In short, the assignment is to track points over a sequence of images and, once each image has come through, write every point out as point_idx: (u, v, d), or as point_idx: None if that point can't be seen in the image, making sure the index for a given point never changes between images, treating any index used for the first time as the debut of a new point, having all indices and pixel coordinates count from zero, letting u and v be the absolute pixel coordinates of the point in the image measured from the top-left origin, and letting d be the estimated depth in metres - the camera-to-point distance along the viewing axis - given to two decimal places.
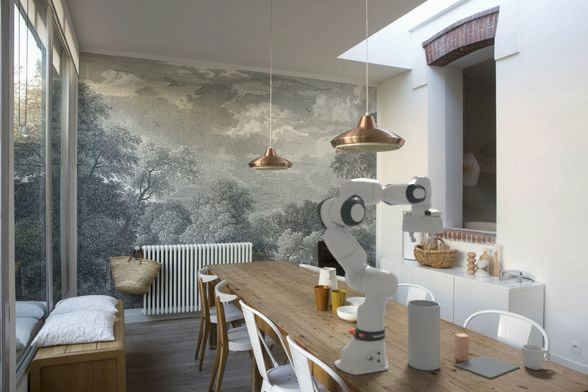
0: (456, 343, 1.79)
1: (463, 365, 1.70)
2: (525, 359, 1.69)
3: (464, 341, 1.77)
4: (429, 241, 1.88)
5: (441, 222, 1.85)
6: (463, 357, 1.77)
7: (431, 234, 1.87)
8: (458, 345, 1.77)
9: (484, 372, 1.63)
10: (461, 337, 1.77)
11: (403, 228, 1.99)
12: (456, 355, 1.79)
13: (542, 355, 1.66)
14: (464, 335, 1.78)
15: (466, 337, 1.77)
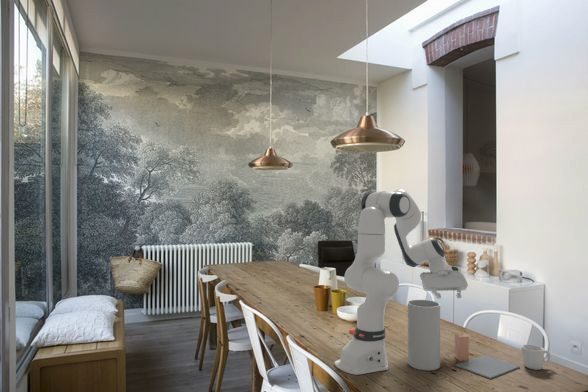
0: (456, 343, 1.79)
1: (463, 365, 1.70)
2: (525, 359, 1.69)
3: (464, 341, 1.77)
4: (459, 294, 1.92)
5: None
6: (463, 357, 1.77)
7: (460, 288, 1.94)
8: (458, 345, 1.77)
9: (484, 372, 1.63)
10: (461, 337, 1.77)
11: (427, 284, 1.94)
12: (456, 355, 1.79)
13: (542, 355, 1.66)
14: (464, 335, 1.78)
15: (466, 337, 1.77)
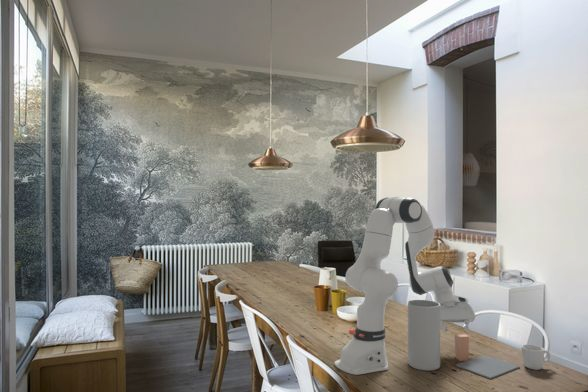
0: (456, 343, 1.79)
1: (463, 365, 1.70)
2: (525, 359, 1.69)
3: (464, 341, 1.77)
4: (467, 327, 1.84)
5: None
6: (463, 357, 1.77)
7: (467, 320, 1.86)
8: (458, 345, 1.77)
9: (484, 372, 1.63)
10: (461, 337, 1.77)
11: None
12: (456, 355, 1.79)
13: (542, 355, 1.66)
14: (464, 335, 1.78)
15: (466, 337, 1.77)
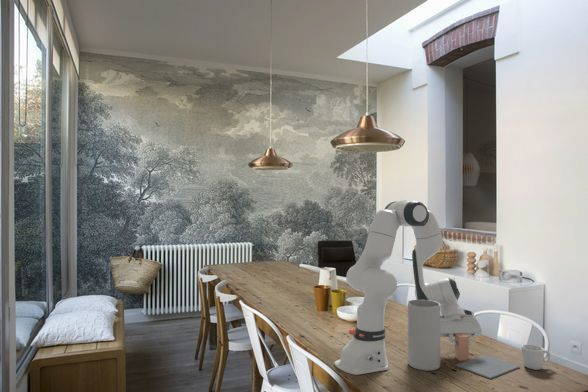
0: None
1: (463, 365, 1.70)
2: (525, 359, 1.69)
3: (464, 341, 1.77)
4: None
5: None
6: (463, 357, 1.77)
7: (469, 335, 1.81)
8: (458, 345, 1.77)
9: (484, 372, 1.63)
10: (461, 337, 1.77)
11: None
12: (456, 355, 1.79)
13: (542, 355, 1.66)
14: (464, 335, 1.78)
15: (466, 337, 1.77)
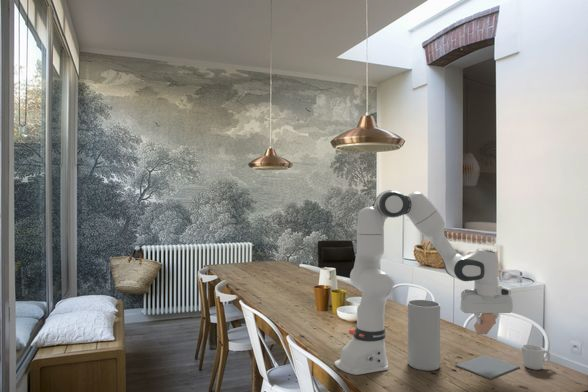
0: None
1: (463, 365, 1.70)
2: (525, 359, 1.69)
3: (489, 324, 1.69)
4: None
5: None
6: (482, 332, 1.73)
7: (497, 314, 1.70)
8: (482, 325, 1.70)
9: (484, 372, 1.63)
10: (488, 322, 1.67)
11: (466, 309, 1.69)
12: (476, 327, 1.75)
13: (542, 355, 1.66)
14: (492, 318, 1.68)
15: (493, 322, 1.68)
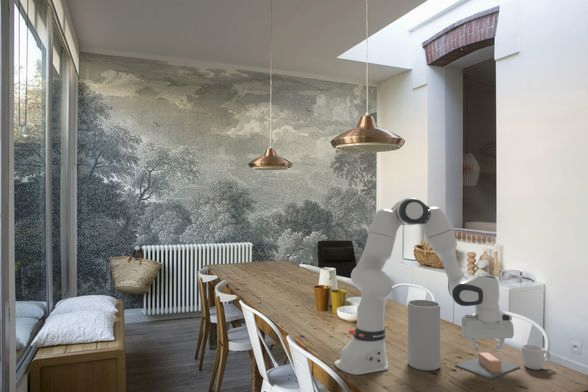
0: (486, 362, 1.67)
1: (463, 365, 1.70)
2: (525, 359, 1.69)
3: None
4: (500, 347, 1.70)
5: None
6: None
7: (503, 339, 1.70)
8: (486, 366, 1.67)
9: (484, 372, 1.63)
10: (493, 371, 1.64)
11: (467, 335, 1.68)
12: (480, 357, 1.72)
13: (542, 355, 1.66)
14: (498, 368, 1.63)
15: (498, 371, 1.64)
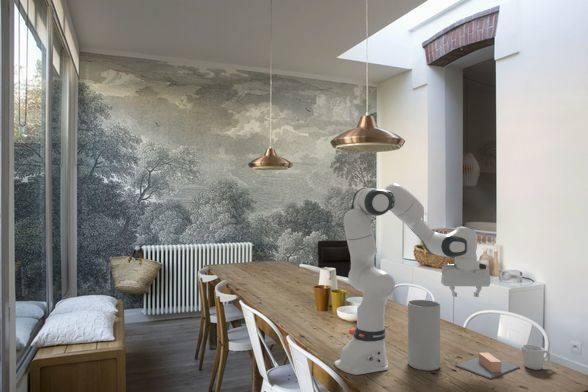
0: (486, 362, 1.67)
1: (463, 365, 1.70)
2: (525, 359, 1.69)
3: None
4: (477, 295, 1.82)
5: None
6: None
7: (480, 287, 1.82)
8: (486, 366, 1.67)
9: (484, 372, 1.63)
10: (493, 371, 1.64)
11: (446, 282, 1.80)
12: (480, 357, 1.72)
13: (542, 355, 1.66)
14: (498, 368, 1.63)
15: (498, 371, 1.64)
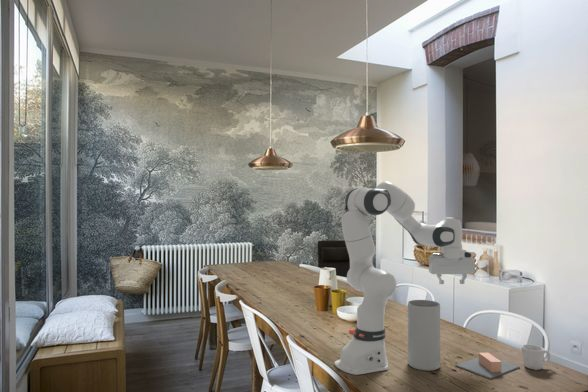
0: (486, 362, 1.67)
1: (463, 365, 1.70)
2: (525, 359, 1.69)
3: None
4: (463, 282, 1.91)
5: None
6: None
7: (465, 275, 1.91)
8: (486, 366, 1.67)
9: (484, 372, 1.63)
10: (493, 371, 1.64)
11: (433, 271, 1.89)
12: (480, 357, 1.72)
13: (542, 355, 1.66)
14: (498, 368, 1.63)
15: (498, 371, 1.64)
